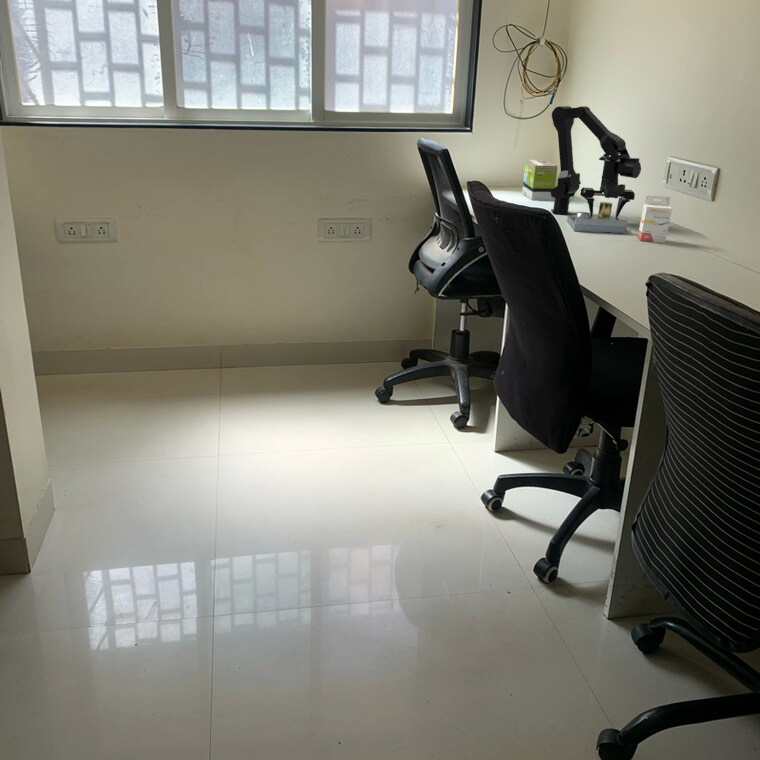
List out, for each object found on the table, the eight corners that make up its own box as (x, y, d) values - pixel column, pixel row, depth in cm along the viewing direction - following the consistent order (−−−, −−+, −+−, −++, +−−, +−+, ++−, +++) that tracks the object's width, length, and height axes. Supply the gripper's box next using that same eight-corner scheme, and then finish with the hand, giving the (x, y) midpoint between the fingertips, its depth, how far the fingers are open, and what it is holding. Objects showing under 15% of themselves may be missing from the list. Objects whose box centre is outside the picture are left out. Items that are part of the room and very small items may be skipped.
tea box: (521, 194, 339) (525, 159, 333) (543, 194, 340) (547, 159, 335) (530, 200, 326) (535, 164, 320) (554, 201, 327) (558, 164, 321)
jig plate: (566, 221, 289) (568, 209, 287) (615, 224, 288) (617, 211, 286) (574, 231, 274) (575, 218, 272) (625, 233, 273) (627, 221, 272)
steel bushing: (574, 225, 283) (576, 211, 281) (586, 225, 283) (588, 212, 281) (576, 227, 279) (578, 214, 277) (588, 228, 279) (590, 214, 277)
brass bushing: (596, 220, 293) (599, 201, 290) (607, 221, 293) (610, 202, 290) (598, 222, 289) (601, 203, 286) (610, 223, 289) (613, 204, 286)
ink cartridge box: (640, 241, 264) (648, 197, 258) (637, 237, 268) (644, 194, 263) (666, 242, 263) (674, 198, 257) (662, 239, 268) (670, 196, 262)
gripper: (588, 176, 277) (582, 220, 283) (641, 179, 276) (634, 222, 283) (583, 171, 287) (577, 214, 294) (634, 174, 287) (627, 216, 293)
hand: (603, 217), depth 290 cm, fingers open, 9 cm apart
